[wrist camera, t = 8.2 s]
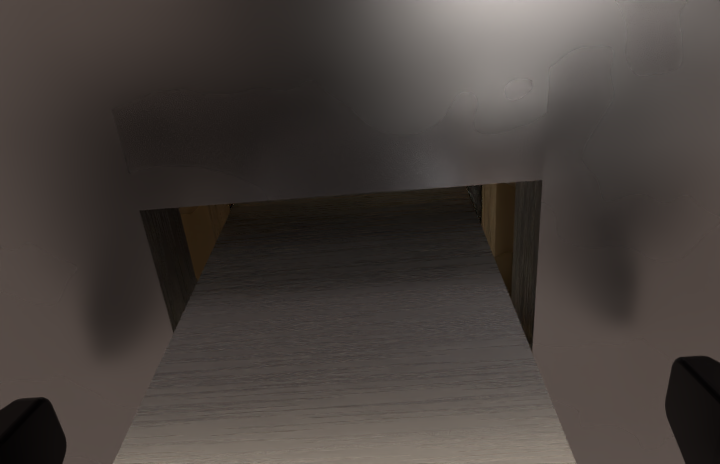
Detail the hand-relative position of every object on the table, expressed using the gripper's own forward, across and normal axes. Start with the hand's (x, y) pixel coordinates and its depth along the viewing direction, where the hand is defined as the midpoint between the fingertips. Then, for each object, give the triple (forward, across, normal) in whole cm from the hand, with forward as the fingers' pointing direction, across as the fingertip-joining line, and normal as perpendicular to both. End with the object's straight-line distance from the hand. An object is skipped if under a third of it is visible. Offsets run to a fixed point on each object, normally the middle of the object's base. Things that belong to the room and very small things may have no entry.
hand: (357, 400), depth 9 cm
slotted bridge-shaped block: (+6, 0, 0) cm, 6 cm away
